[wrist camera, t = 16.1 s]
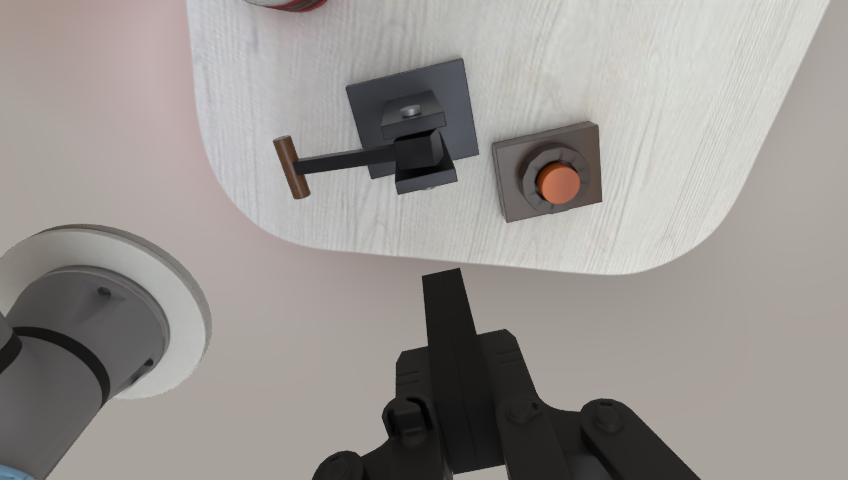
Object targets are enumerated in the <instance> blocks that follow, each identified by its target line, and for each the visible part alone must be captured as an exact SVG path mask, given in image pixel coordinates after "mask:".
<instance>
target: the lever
mask: <svg viewBox="0 0 848 480" xmlns="http://www.w3.org/2000/svg"><path fill="white" fill-rule="evenodd" d="M273 143H274V146H275V149H276V151H277V154H278V157H279V160H280V162H281V165H282V168H283V170H284V173H285V176H286V179H287V181H288V184H289V187H290V189H291V192H292V195H293V198H294V199H302V198H305V197H307V196H309V195H310V190H309V187H308V184H307V181H306V178H305V176H304V174H311V173H318V172H325V171H332V170H338V169H345V168H352V167H359V166H366V165H373V164H380V163H387V162H394V161H398V163H399V167H400V170H409V169H416V168H423V167H431V166H436V165H437V164H438V163H439V161H440V160H441V159H442V157H443V156H444V154H443V149H442V144H441V139H440V134H439V129H438V128H436V129H432V130H428V131H424V132H419V133H415V134H411V135H406V136H402V137H398V138H397V139H396V140H394V141H393V143H394V144H389V145H383V146H377V147H370V148H364V149H358V150H351V151H345V152H339V153H332V154H326V155H320V156H313V157H307V158H301V159H299V158H298V156H297V153H296V150H295V147H294V144H293V141H292V138H291V136H289V135H287V136H282V137H279V138H276V139H274V140H273Z"/></svg>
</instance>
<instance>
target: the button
mask: <svg viewBox="0 0 848 480" xmlns="http://www.w3.org/2000/svg"><path fill="white" fill-rule="evenodd" d="M537 187H538V190H539V192H540V193H541V194H542V195H543V196H544V198H545V199H546V200H548V201H549V202H551V203H554V204H563V203H566V202H568V201H570V200H571V199H573V198H574V197H575V195H576V194H577V192H578V190H579V187H580V179H579V176H578V174H577V173H576V172H575V171H574V170H573V169H572V168H570V167H569V166H568V165H566V164H564V163H552V164H550V165H548V166H546V167H545V168H544V169H543V170H542V171H541V172H540V174H539V176H538V179H537Z"/></svg>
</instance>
